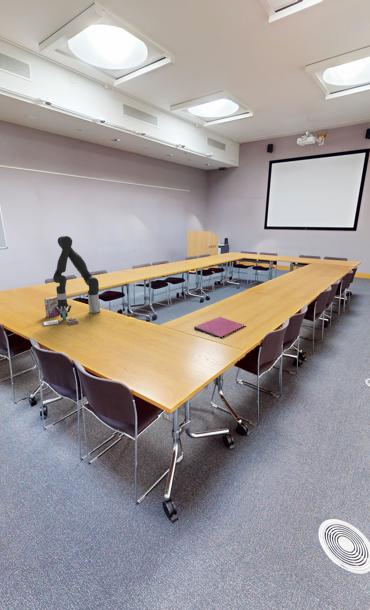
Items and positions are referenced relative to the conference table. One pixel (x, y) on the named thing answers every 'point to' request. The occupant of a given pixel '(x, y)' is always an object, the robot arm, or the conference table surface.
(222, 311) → the conference table surface
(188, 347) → the conference table surface
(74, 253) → the robot arm
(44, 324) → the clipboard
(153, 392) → the conference table surface
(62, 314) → the marker
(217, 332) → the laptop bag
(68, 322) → the button housing
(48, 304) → the candy bar box
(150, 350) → the conference table surface
